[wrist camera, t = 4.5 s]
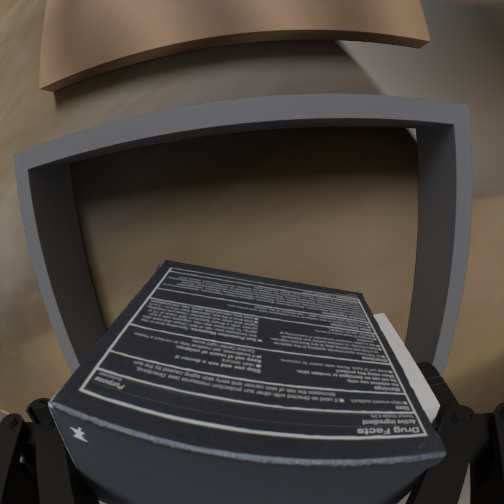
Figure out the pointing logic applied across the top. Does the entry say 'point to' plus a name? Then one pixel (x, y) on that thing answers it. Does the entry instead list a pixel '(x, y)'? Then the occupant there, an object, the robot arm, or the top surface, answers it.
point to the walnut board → (206, 29)
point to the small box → (244, 398)
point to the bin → (243, 120)
